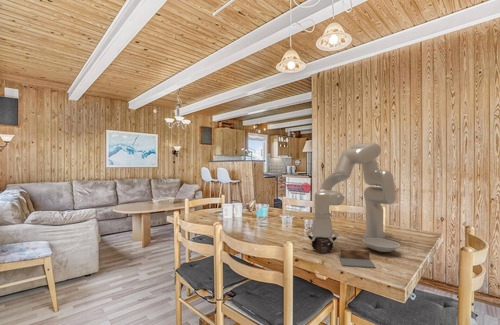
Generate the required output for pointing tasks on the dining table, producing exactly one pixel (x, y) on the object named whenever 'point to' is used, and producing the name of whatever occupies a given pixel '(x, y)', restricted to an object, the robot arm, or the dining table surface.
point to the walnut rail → (354, 254)
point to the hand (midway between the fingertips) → (322, 248)
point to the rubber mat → (356, 262)
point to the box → (322, 245)
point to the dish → (381, 244)
